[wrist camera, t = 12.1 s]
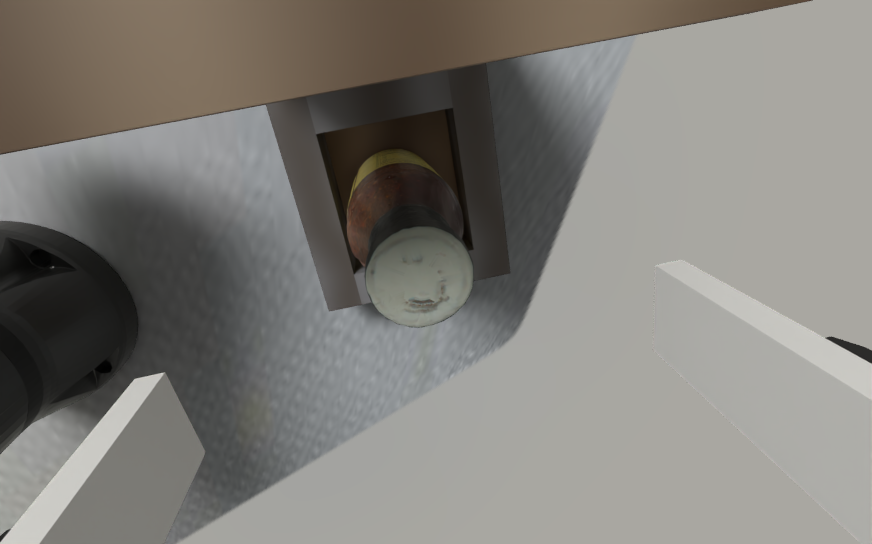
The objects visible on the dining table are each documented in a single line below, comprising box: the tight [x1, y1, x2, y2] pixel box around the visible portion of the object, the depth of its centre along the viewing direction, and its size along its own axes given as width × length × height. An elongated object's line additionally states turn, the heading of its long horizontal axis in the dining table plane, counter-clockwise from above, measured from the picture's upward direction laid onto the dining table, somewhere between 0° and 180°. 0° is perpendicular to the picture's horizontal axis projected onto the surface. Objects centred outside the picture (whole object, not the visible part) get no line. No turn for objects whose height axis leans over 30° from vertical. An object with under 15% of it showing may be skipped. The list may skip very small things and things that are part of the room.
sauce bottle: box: [347, 149, 474, 328], centre depth 25 cm, size 6×6×20 cm
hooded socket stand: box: [0, 0, 811, 311], centre depth 22 cm, size 15×20×28 cm
